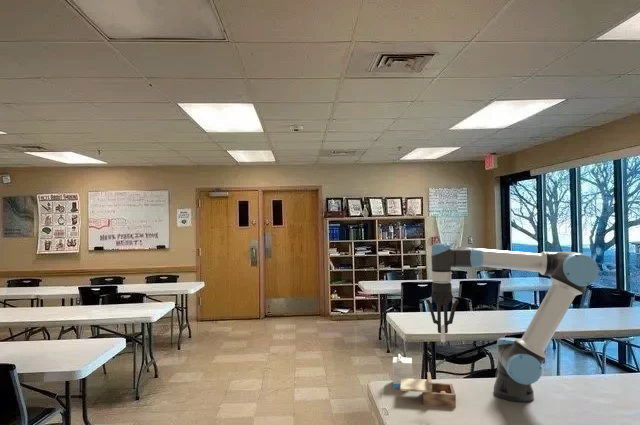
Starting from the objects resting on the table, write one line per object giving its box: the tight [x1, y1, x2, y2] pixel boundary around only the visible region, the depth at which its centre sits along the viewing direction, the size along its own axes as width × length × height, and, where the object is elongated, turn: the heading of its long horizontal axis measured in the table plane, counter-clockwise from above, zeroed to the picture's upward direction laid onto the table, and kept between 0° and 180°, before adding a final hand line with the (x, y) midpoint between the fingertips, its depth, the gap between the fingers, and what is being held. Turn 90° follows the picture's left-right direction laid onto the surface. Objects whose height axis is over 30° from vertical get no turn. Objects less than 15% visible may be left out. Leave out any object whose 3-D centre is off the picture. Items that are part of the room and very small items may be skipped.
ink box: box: [392, 353, 414, 389], centre depth 186 cm, size 9×8×13 cm
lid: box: [400, 371, 433, 393], centre depth 171 cm, size 12×12×4 cm
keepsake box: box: [421, 382, 457, 408], centre depth 169 cm, size 12×12×5 cm
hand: (442, 341), depth 169 cm, fingers closed
